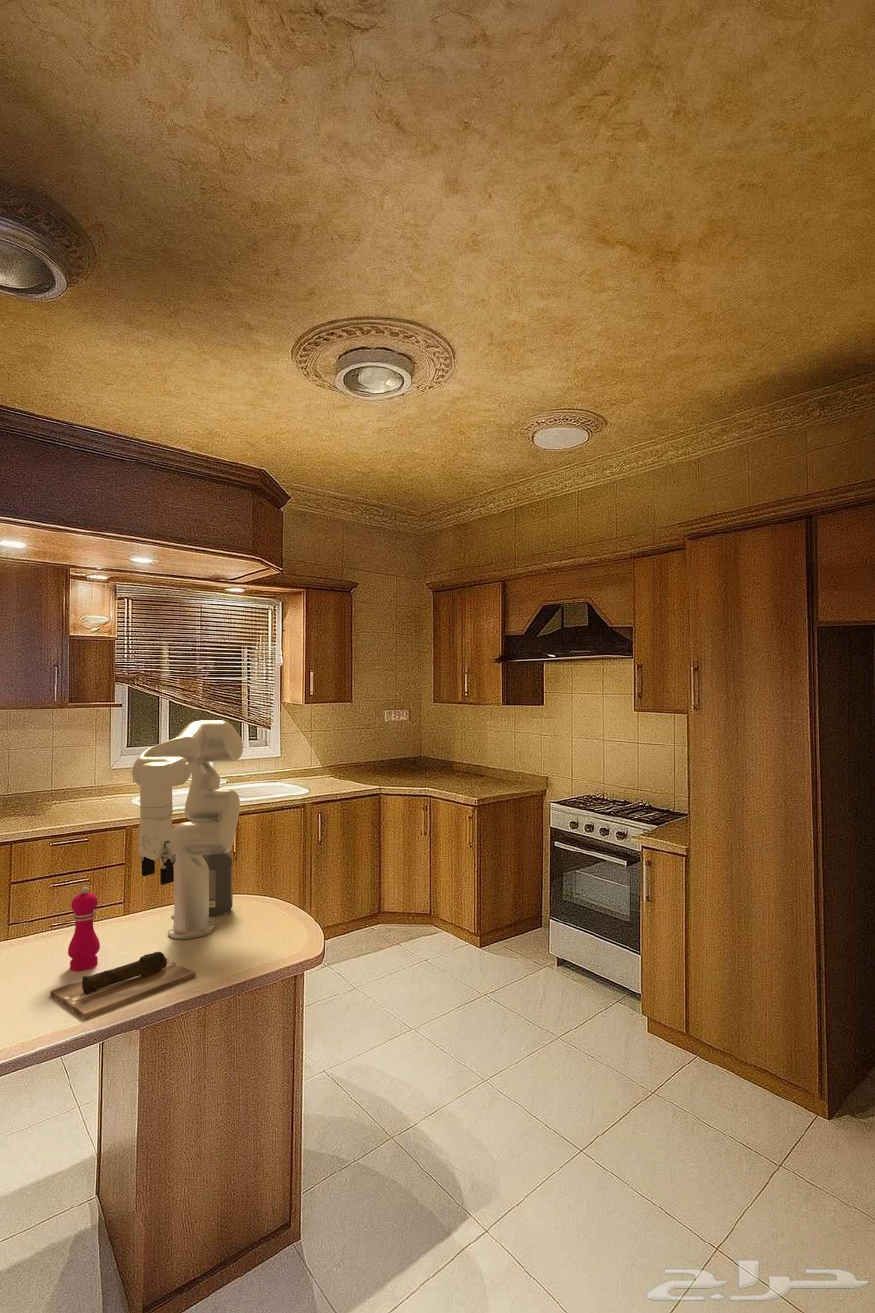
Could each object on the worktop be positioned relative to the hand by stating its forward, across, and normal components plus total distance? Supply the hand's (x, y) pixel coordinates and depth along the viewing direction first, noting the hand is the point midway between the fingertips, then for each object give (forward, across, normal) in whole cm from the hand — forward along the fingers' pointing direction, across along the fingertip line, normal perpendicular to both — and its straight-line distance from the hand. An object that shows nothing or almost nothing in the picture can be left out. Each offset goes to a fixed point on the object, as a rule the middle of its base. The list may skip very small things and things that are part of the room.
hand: (157, 879), depth 167 cm
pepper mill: (+23, -16, -12) cm, 30 cm away
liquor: (+25, -27, +32) cm, 49 cm away
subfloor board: (+22, +4, -10) cm, 25 cm away
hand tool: (+21, +4, -10) cm, 24 cm away
